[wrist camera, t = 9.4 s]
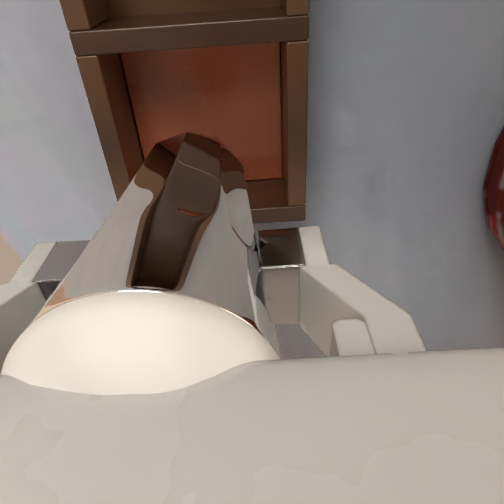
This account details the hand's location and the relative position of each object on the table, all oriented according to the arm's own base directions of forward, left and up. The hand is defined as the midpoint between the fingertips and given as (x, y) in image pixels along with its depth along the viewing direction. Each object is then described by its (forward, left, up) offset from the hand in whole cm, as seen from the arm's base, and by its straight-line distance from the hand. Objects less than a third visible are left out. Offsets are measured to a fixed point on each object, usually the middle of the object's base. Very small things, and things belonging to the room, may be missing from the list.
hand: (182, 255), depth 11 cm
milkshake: (0, 0, -4) cm, 4 cm away
